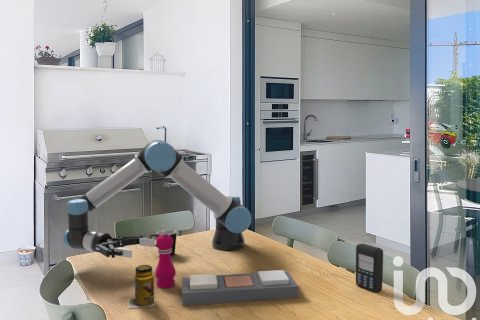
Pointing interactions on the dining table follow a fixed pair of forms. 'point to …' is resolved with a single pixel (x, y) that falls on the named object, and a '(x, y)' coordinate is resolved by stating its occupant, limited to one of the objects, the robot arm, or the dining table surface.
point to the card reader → (369, 267)
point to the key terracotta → (238, 281)
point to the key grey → (273, 277)
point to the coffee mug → (172, 234)
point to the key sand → (203, 282)
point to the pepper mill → (165, 262)
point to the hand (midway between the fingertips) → (143, 248)
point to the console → (238, 291)
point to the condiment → (143, 288)
